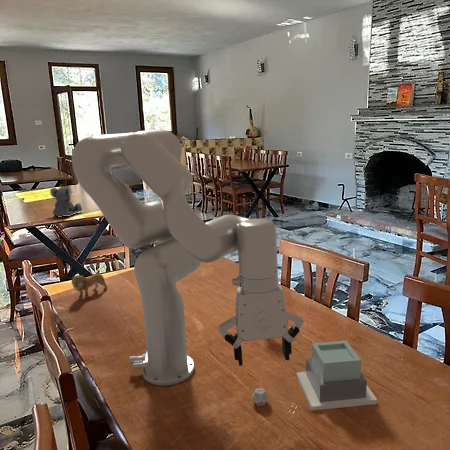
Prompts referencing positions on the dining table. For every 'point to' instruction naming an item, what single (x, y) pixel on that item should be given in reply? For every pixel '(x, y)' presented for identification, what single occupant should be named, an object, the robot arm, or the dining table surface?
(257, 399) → the game die
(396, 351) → the dining table surface
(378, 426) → the dining table surface
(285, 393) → the dining table surface
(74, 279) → the lion figurine
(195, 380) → the dining table surface
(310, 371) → the stepped pedestal
